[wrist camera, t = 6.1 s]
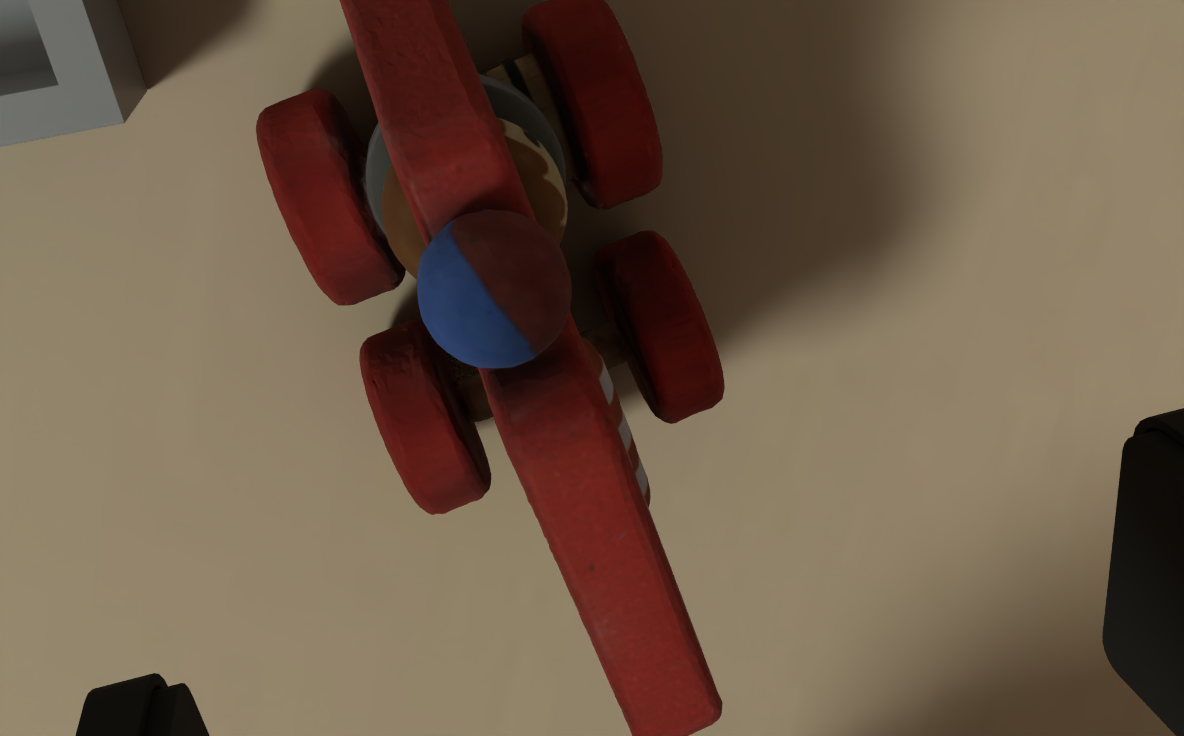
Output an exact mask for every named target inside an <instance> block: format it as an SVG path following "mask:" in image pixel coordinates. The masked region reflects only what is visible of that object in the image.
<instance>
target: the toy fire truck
mask: <svg viewBox="0 0 1184 736" xmlns="http://www.w3.org/2000/svg"><path fill="white" fill-rule="evenodd" d="M340 3H341V6H342V9H343V12H344V15H345V18H346V20H347V24H348V27H349V30H350V33H351V36H352V38H353V41H354V44H355V48H356V53H357V56H358V59H359V62H360V65H361V68H362V71H363V74H364V77H365V80H366V83H367V86H368V89H369V92H370V95H371V98H372V101H373V104H374V108H375V111H376V114H377V118H378V121H379V122H378V124H377V126H376V128H375V130H374V132H373V134H372V137H371V139H370V142H369V147H368V154H367V157H366V154H365V152H364V150H363V147H362V145H361V143H360V141H359V139H358V137H357V135H356V133H355V131H354V129H353V127H352V125H351V123H350V121H349V119H348V117H347V115H346V113H345V111H344V109H343V108H342V106H341V104H340V102H339V101H338V99H337V98H336V97H335V95H333V94H332V93H331V92H330V91H327V90H324V89H311V90H309V91H306V92H304V93H302V94H299V95H296V96H293V97H291V98H288V99H285V100H282V101H280V102H278V103H276V104H273V105H271V106H269V107H267V108H265V109H264V110H263V111H262V112H261V113H260V114H259V117H258V120H257V125H256V133H257V141H258V145H259V149H260V154H261V158H262V161H263V164H264V167H265V171H266V174H267V178H268V180H269V183H270V185H271V187H272V191H273V194H274V197H275V199H276V202H277V204H278V207H279V209H280V211H281V214H282V216H283V218H284V220H285V223H286V225H287V228H288V230H289V232H290V235H291V237H292V239H293V241H294V243H295V244H296V246H297V248H298V250H299V252H300V254H301V256H302V258H303V260H304V262H305V264H306V266H307V268H308V270H309V271H310V273H311V275H312V276H313V278H314V280H315V282H316V283H317V285H318V286H319V287H320V289H321V290H322V291H323V292H324V293H325V294H326V295H327V296H328V297H329V298H330V299H331V300H332V301H333V302H334V303H336V304H337V305H354V304H357V303H359V302H361V301H364V300H366V299H369V298H371V297H374V296H377V295H379V294H381V293H384V292H387V291H391V290H394V289H395V288H397V287H398V286H399V285H400V283H401V282H402V281H403V278H404V276H405V271H406V270H407V271H408V272H409V273H410V274H411V275H412V276H414V277H415V278H416V279H417V294H418V304H419V309H420V313H421V317H422V319H423V322H421V321H418V320H410V321H407V322H405V323H402V324H400V325H398V326H395V327H393V328H390V329H388V330H386V331H383V332H380V333H378V334H375V335H373V336H371V337H369V338H367V340H366V341H365V342H364V343H363V344H362V346H361V349H360V367H361V373H362V378H363V381H364V385H365V390H366V394H367V398H368V401H369V404H370V406H371V409H372V412H373V415H374V418H375V420H376V423H377V426H378V428H379V431H380V434H381V436H382V438H383V440H384V443H385V446H386V448H387V450H388V452H389V454H390V456H391V458H392V461H393V463H394V465H395V467H396V469H397V471H398V473H399V475H400V477H401V478H402V481H403V483H404V485H405V487H406V488H407V490H408V492H409V493H410V495H411V496H412V498H413V499H414V501H415V502H416V503H417V504H418V506H419V507H420V508H422V509H423V510H425V511H426V512H427V513H429V514H432V515H433V514H444V513H447V512H449V511H451V510H453V509H455V508H458V507H461V506H463V505H466V504H468V503H470V502H473V501H477V500H479V499H481V498H482V497H483V496H484V494H485V493H486V492H487V491H488V490H489V488H490V485H491V472H490V467H489V463H488V459H487V456H486V453H485V450H484V447H483V444H482V442H481V439H480V437H479V434H478V431H477V429H476V426H475V423H474V422H476V421H482V420H485V419H488V418H490V417H493V416H494V420H495V423H496V426H497V428H498V431H499V433H500V436H501V438H502V441H503V444H504V446H505V449H506V451H507V454H508V456H509V458H510V460H511V462H512V464H513V466H514V468H515V471H516V473H517V475H518V477H519V480H520V482H521V484H522V486H523V488H524V491H525V493H526V496H527V499H528V501H529V503H530V504H531V506H532V508H533V511H534V513H535V516H536V517H537V519H538V522H539V524H540V526H541V529H542V531H543V534H544V536H545V538H546V539H547V542H548V544H549V547H550V550H551V552H552V553H553V556H554V559H555V561H556V562H557V564H558V567H559V569H560V571H561V574H562V576H563V578H564V581H565V583H566V585H567V588H568V590H569V592H570V595H571V597H572V599H573V601H574V603H575V605H576V608H577V610H578V612H579V615H580V617H581V620H582V622H583V624H584V626H585V628H586V630H587V632H588V634H589V637H590V639H591V641H592V644H593V646H594V648H595V651H596V653H597V656H598V658H599V660H600V662H601V665H602V667H603V669H604V672H605V674H606V676H607V678H608V681H609V683H610V685H611V687H612V690H613V692H614V694H615V697H616V699H617V702H618V704H619V706H620V707H621V709H622V712H623V715H624V717H625V720H626V721H627V724H628V726H629V728H630V731H631V733H632V736H688V735H691V734H693V733H695V732H697V731H699V730H701V729H703V728H706V727H708V726H710V725H712V724H713V723H715V722H716V721H717V720H718V719H719V718H720V716H721V713H722V700H721V698H720V696H719V694H718V692H717V689H716V686H715V684H714V681H713V678H712V675H711V673H710V670H709V668H708V665H707V663H706V660H705V657H704V654H703V652H702V649H701V646H700V643H699V641H698V638H697V635H696V633H695V630H694V627H693V625H692V622H691V620H690V617H689V614H688V612H687V609H686V606H685V604H684V601H683V598H682V596H681V593H680V591H679V588H678V585H677V583H676V580H675V578H674V575H673V572H672V570H671V567H670V564H669V562H668V559H667V556H666V554H665V551H664V548H663V546H662V543H661V540H660V538H659V535H658V532H657V530H656V527H655V524H654V522H653V519H652V516H651V514H650V511H649V504H650V488H649V483H648V479H647V475H646V473H645V470H644V468H643V465H642V463H641V460H640V458H639V455H638V452H637V449H636V445H635V443H634V440H633V437H632V434H631V431H630V428H629V425H628V423H627V420H626V418H625V416H624V413H623V411H622V408H621V406H620V402H619V399H618V396H617V394H616V391H615V388H614V386H613V383H612V381H611V378H610V376H609V373H608V371H607V369H610V368H612V367H615V366H617V365H619V364H622V363H624V362H625V361H627V363H628V366H629V368H630V370H631V372H632V375H633V377H634V379H635V381H636V383H637V386H638V388H639V390H640V392H641V394H642V396H643V397H644V399H645V401H646V403H647V404H648V406H649V408H650V410H651V411H652V412H653V413H654V415H655V416H656V417H658V418H659V419H661V420H662V421H664V422H667V423H670V424H672V423H677V422H678V421H680V420H683V419H685V418H687V417H689V416H691V415H693V414H696V413H698V412H701V411H704V410H707V409H710V408H712V407H714V406H715V405H716V404H717V403H718V402H719V401H720V400H721V399H722V398H723V393H724V377H723V371H722V367H721V363H720V359H719V355H718V352H717V349H716V346H715V343H714V340H713V337H712V334H711V331H710V329H709V326H708V323H707V321H706V318H705V315H704V312H703V310H702V307H701V305H700V303H699V301H698V299H697V296H696V294H695V292H694V289H693V287H692V284H691V282H690V280H689V278H688V277H687V275H686V273H685V270H684V269H683V267H682V265H681V263H680V261H679V260H678V258H677V256H676V254H675V252H674V251H673V250H672V248H671V247H670V245H669V244H668V243H667V241H666V240H665V239H664V238H663V237H661V236H660V235H659V234H657V233H656V232H654V231H650V230H648V231H641V232H639V233H636V234H634V235H632V236H629V237H627V238H624V239H622V240H619V241H617V242H614V243H612V244H609V245H607V246H604V247H603V248H601V249H600V250H599V251H597V253H596V254H595V256H594V271H595V276H596V280H597V283H598V287H599V290H600V293H601V296H602V299H603V302H604V305H605V308H606V310H607V313H608V316H609V319H610V321H611V322H609V323H607V324H604V325H601V326H598V327H596V328H594V329H592V330H590V331H587V332H584V333H581V334H579V332H578V330H577V327H576V325H575V322H574V320H573V317H572V315H571V312H570V304H571V298H572V288H571V277H570V273H569V270H568V268H567V265H566V260H565V257H564V255H563V253H562V251H561V249H560V247H559V246H560V243H561V240H562V237H563V234H564V230H565V227H566V221H567V212H568V207H567V204H568V202H567V199H566V194H565V187H566V181H568V180H571V179H572V181H573V183H574V185H575V187H576V188H577V190H578V191H579V193H580V194H581V196H582V197H583V199H584V200H585V201H586V202H587V204H588V205H590V206H592V207H594V208H595V209H598V210H600V209H610V208H612V207H615V206H617V205H619V204H621V203H623V202H626V201H629V200H632V199H634V198H636V197H640V196H643V195H645V194H647V193H649V192H650V191H652V190H654V189H655V188H656V187H657V186H659V185H660V182H661V178H662V168H663V165H662V148H661V144H660V140H659V135H658V131H657V126H656V122H655V118H654V114H653V111H652V108H651V103H650V101H649V99H648V97H647V93H646V89H645V86H644V84H643V82H642V79H641V76H640V74H639V71H638V68H637V65H636V62H635V59H634V57H633V54H632V52H631V50H630V48H629V45H628V43H627V41H626V38H625V36H624V34H623V32H622V30H621V28H620V25H619V23H618V21H617V19H616V17H615V16H614V14H613V12H612V10H611V9H610V7H609V6H608V4H607V3H606V2H605V1H604V0H549V1H547V2H544V3H541V4H539V5H536V6H534V7H532V8H531V9H530V10H528V11H527V13H526V14H525V16H524V18H523V22H522V34H521V35H522V39H523V44H524V49H525V53H526V56H525V57H522V58H520V59H517V60H510V59H505V60H504V61H503V62H502V63H501V64H500V66H498V67H496V68H494V69H492V70H489V71H488V72H487V73H486V74H485V75H482V74H478V72H477V70H476V67H475V65H474V63H473V60H472V58H471V55H470V53H469V51H468V48H467V46H466V43H465V41H464V39H463V36H462V34H461V31H460V29H459V27H458V24H457V22H456V19H455V17H454V15H453V12H452V10H451V7H450V5H449V3H448V0H340ZM442 348H443V349H444V350H445V351H446V352H448V353H449V354H451V355H452V356H454V357H455V358H456V359H458V360H459V361H461V362H464V363H466V364H469V365H472V366H475V367H477V368H478V370H479V373H477V374H475V375H472V376H469V377H466V378H464V379H461V380H457V378H456V376H455V373H454V371H453V369H452V367H451V365H450V363H449V361H448V359H447V357H446V355H445V353H444V351H443V349H442Z"/></svg>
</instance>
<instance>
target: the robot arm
mask: <svg viewBox="0 0 1184 736" xmlns="http://www.w3.org/2000/svg"><path fill="white" fill-rule="evenodd" d="M1103 645H1104V650H1105V653H1106V655H1107V658H1108V660H1109V662H1110V664H1111V665H1112V667H1113V668H1114V670H1115V671H1116V672H1117V674H1118V675H1119V676H1120V677H1121V678H1122V679H1123V680H1124V681H1125V682H1126V683H1127V684H1128V685H1129V686H1130V687H1131V688H1132V690H1133V691H1134V692H1135V693H1136V694H1137V695H1138V696H1139V697H1140V698H1141V699H1142V700H1143V701H1144V702H1145V703H1146V704H1147V705H1148V706H1149V707H1150V709H1151V710H1152V711H1153V712H1154V713H1155V714H1156V715H1157V716H1158V717H1159V718H1160V719H1161V720H1162V721H1163V722H1164V723H1165V724H1166V725H1167V726H1168V728H1169V729H1170V730H1171V731H1172V732H1173V733H1174V734H1175V735H1176V736H1184V408H1183V409H1179V410H1175V411H1171V412H1167V413H1163V414H1159V415H1156V416H1152V417H1148V418H1146V419H1144V420H1142V421H1140V422H1139V424H1138V425H1137V426H1136V428H1135V431H1134V435H1133V437H1130V438H1128V439H1127V441H1126V442H1125V444H1124V447H1123V451H1122V461H1121V470H1120V479H1119V488H1118V497H1117V507H1116V516H1115V525H1114V534H1113V543H1112V552H1111V562H1110V571H1109V580H1108V589H1107V598H1106V608H1105V617H1104V626H1103ZM76 736H209V734H208V731H207V729H206V726H205V724H204V722H203V719H202V717H201V715H200V712H199V710H198V708H197V705H196V703H195V701H194V698H193V696H192V694H191V692H190V690H189V688H188V687H187V686H186V685H185V684H184V683H180V684H176V685H172V686H169V687H168V686H167V684H166V682H165V680H164V679H163V678H162V677H161V676H160V675H159V674H155V673H154V674H150V675H146V676H142V677H138V678H134V679H130V680H126V681H122V682H119V683H115V684H111V685H107V686H103V687H99V688H95V689H93V690H91V691H90V692H89V693H88V695H87V697H86V700H85V702H84V706H83V710H82V713H81V717H80V721H79V725H78V729H77V732H76Z"/></svg>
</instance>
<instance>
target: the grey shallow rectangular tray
mask: <svg viewBox="0 0 1184 736" xmlns="http://www.w3.org/2000/svg"><path fill="white" fill-rule="evenodd" d="M146 92H147V89H146V86H145V83H144V80H143V77H142V74H141V71H140V68H139V65H138V62H137V59H136V56H135V53H134V50H133V46H132V43H131V40H130V37H129V34H128V31H127V28H126V25H125V22H124V19H123V16H122V13H121V10H120V7H119V4H118V1H117V0H0V147H1V146H7V145H12V144H17V143H22V142H28V141H33V140H38V139H43V138H48V137H54V136H59V135H64V134H69V133H75V132H80V131H85V130H90V129H96V128H101V127H106V126H111V125H117V124H122V123H125V121H126V120H127V119H128V117H129V116H130V114H131V113H132V112H133V110H134V109H135V107H136V106H137V105H138V103H139V102H140V100H141V99H142V97H143V96H144V95H145V93H146Z"/></svg>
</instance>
